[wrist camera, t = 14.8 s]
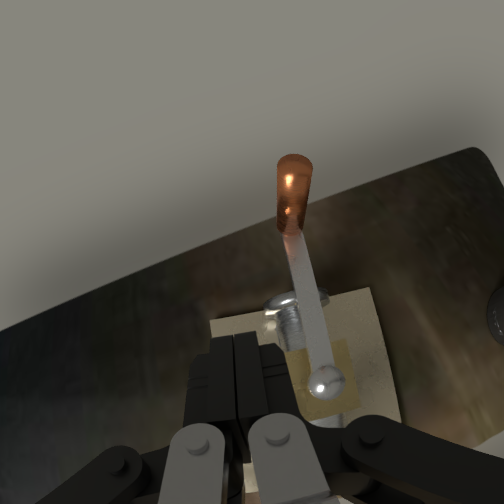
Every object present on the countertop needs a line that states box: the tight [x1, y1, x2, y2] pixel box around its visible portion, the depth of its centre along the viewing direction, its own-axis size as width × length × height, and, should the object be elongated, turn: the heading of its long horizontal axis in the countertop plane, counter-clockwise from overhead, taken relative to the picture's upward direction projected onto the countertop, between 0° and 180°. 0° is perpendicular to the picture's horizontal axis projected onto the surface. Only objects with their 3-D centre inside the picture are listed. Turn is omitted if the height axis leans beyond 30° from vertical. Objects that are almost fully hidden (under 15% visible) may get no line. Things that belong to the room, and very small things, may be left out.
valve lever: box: [277, 154, 345, 400], centre depth 21 cm, size 17×3×9 cm, turn 10°
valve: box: [210, 287, 401, 493], centre depth 28 cm, size 20×22×12 cm
